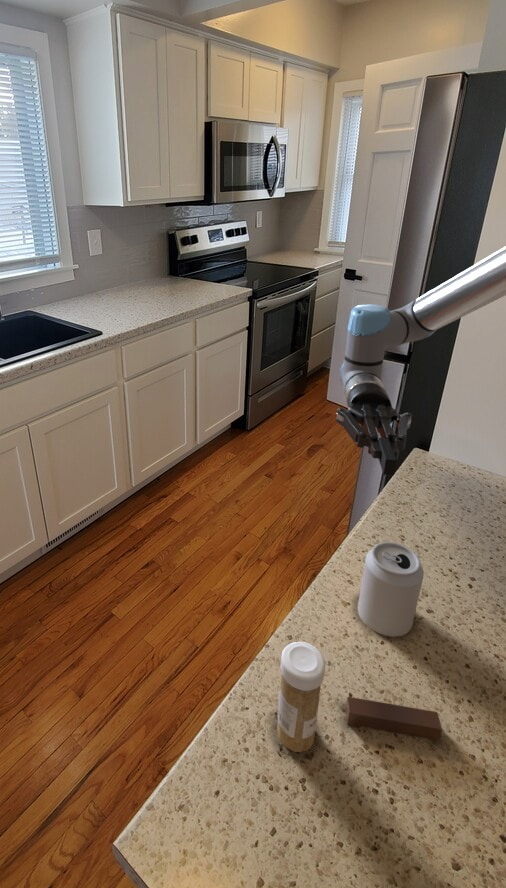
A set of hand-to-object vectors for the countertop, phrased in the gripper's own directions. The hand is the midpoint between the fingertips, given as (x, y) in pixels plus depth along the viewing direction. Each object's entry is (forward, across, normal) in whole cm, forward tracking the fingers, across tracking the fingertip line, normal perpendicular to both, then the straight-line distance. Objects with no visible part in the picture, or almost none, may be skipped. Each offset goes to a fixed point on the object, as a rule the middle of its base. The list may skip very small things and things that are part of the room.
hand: (389, 467), depth 73 cm
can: (+10, 0, -20) cm, 22 cm away
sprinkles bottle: (+29, +13, -20) cm, 38 cm away
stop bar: (+26, +2, -20) cm, 33 cm away
